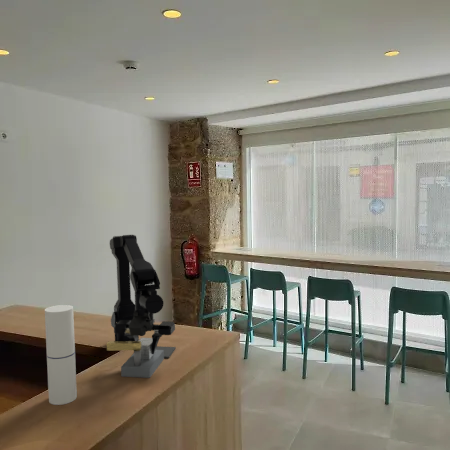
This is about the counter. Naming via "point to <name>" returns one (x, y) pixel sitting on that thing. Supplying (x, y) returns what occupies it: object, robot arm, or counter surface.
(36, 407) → the counter surface
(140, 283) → the robot arm
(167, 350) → the rubber mat
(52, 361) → the cylindrical container
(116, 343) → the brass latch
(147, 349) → the lever cap
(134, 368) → the body
